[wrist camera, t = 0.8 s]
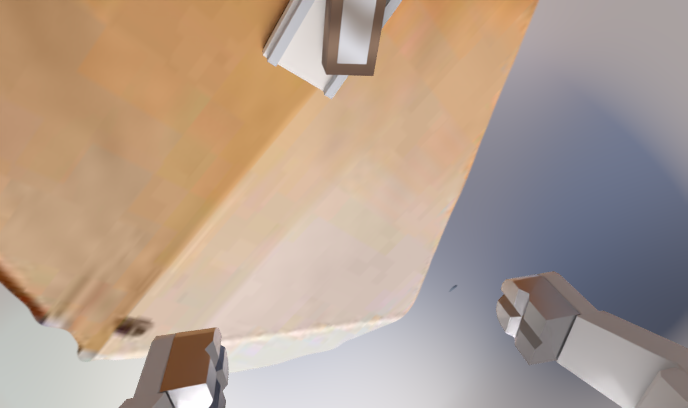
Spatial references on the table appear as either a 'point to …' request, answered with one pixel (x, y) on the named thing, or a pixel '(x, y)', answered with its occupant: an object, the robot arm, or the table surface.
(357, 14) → the picture frame
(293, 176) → the table surface
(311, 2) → the picture ledge
